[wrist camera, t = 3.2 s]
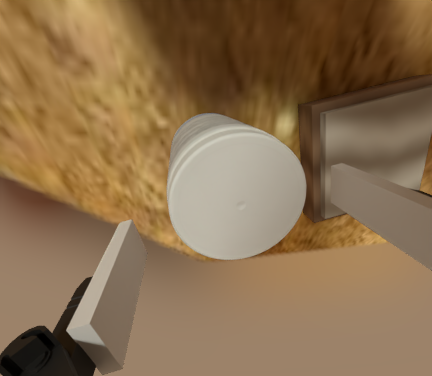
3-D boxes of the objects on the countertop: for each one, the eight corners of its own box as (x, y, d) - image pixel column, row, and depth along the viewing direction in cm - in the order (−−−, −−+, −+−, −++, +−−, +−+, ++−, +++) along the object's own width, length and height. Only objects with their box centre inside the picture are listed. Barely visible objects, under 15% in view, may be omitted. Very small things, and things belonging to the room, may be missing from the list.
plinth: (298, 105, 26) (317, 106, 22) (416, 75, 27) (452, 72, 23) (303, 212, 33) (318, 226, 29) (397, 186, 34) (423, 197, 30)
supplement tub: (161, 171, 27) (141, 245, 14) (187, 97, 24) (196, 98, 11) (228, 195, 30) (267, 275, 16) (259, 131, 27) (337, 165, 13)
